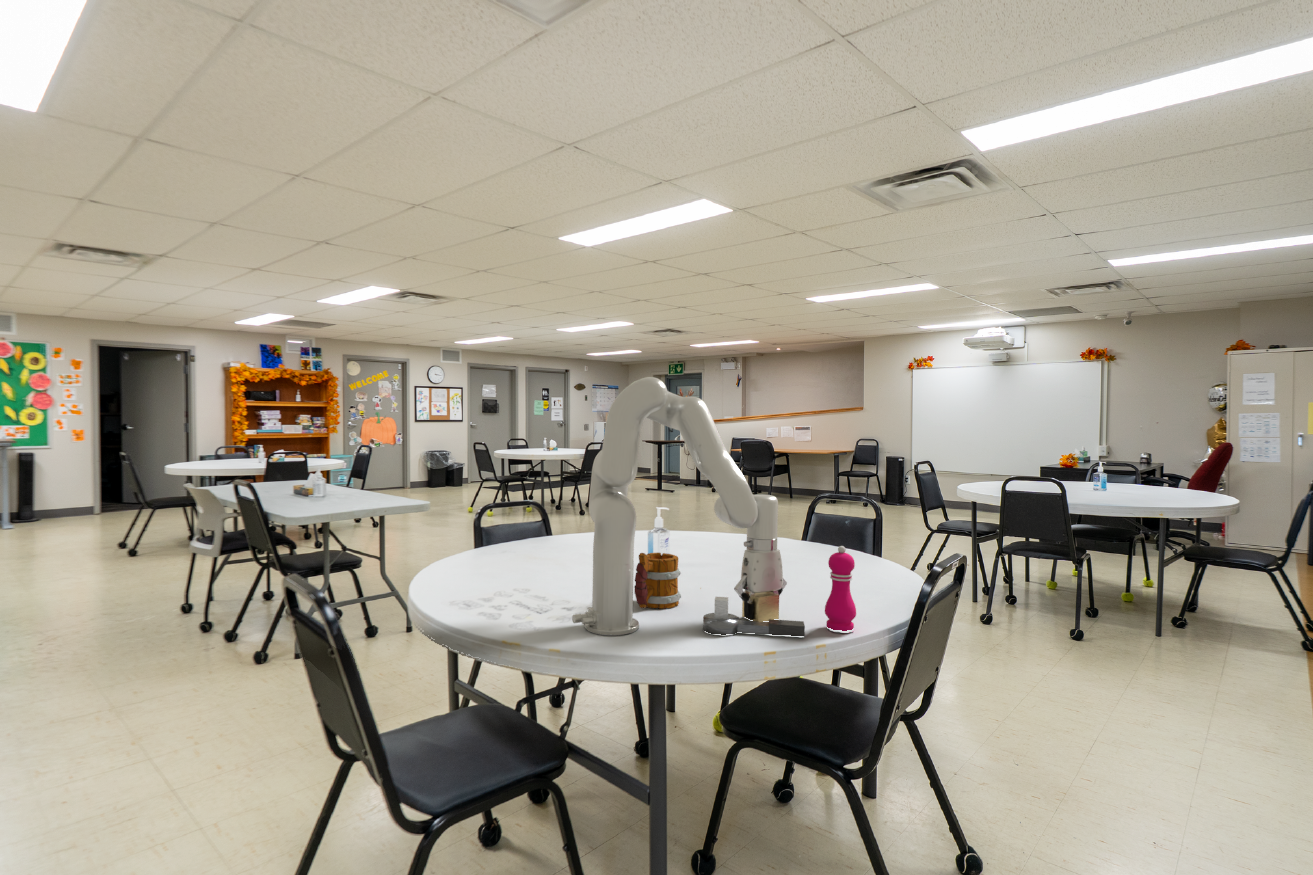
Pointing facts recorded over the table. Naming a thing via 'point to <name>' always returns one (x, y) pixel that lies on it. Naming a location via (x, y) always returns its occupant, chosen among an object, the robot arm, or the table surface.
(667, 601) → the mug
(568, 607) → the table surface
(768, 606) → the wooden cube
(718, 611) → the ratchet
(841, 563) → the pepper mill
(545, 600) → the table surface
